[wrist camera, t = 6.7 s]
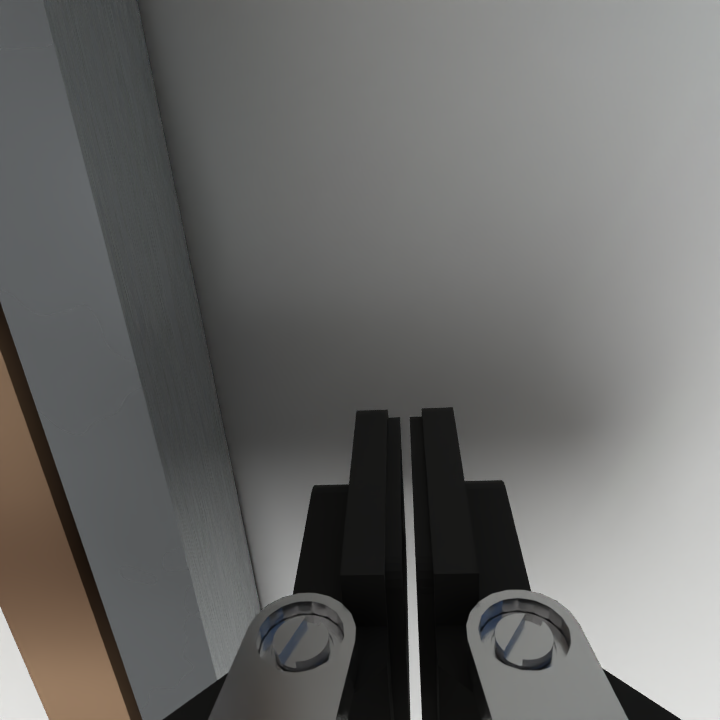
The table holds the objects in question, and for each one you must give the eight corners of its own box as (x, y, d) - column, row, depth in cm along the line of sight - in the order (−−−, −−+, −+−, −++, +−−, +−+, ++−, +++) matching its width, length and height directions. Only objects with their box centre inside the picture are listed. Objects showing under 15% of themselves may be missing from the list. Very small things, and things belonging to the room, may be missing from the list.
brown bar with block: (-253, -392, 8) (-776, -740, 5) (88, -445, 8) (-180, -869, 4) (140, 736, 18) (73, 922, 14) (304, 735, 17) (280, 925, 13)
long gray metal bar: (17, -48, 10) (-131, -84, 7) (125, -60, 9) (16, -101, 7) (226, 743, 17) (195, 874, 14) (287, 742, 17) (267, 875, 14)
